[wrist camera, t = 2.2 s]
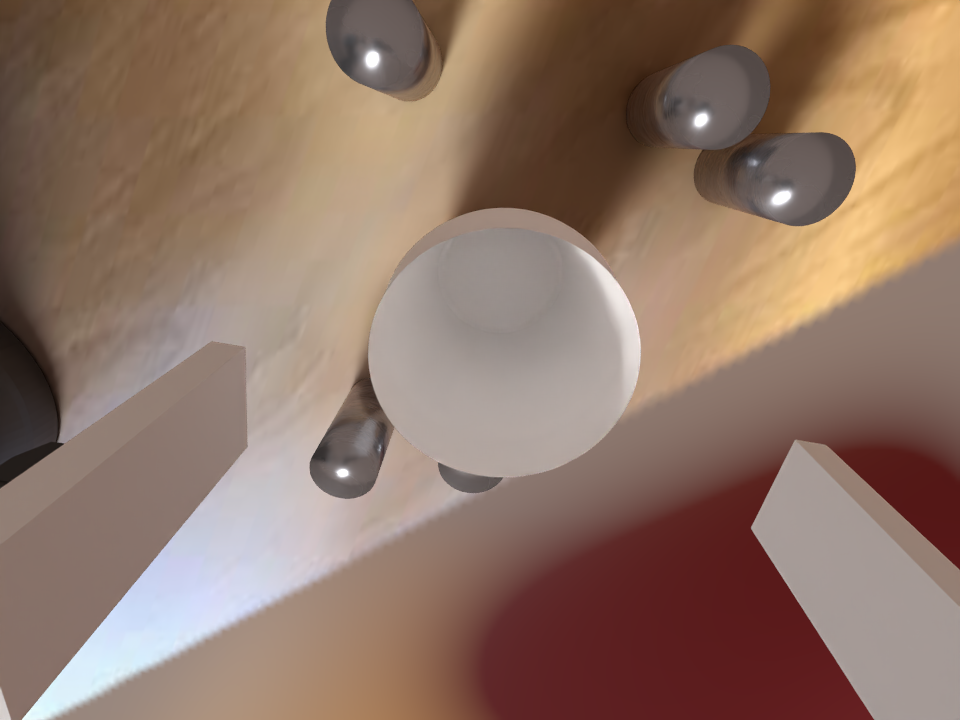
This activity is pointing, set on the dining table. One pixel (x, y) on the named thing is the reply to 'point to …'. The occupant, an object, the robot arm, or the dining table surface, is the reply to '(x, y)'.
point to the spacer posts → (651, 120)
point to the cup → (504, 344)
